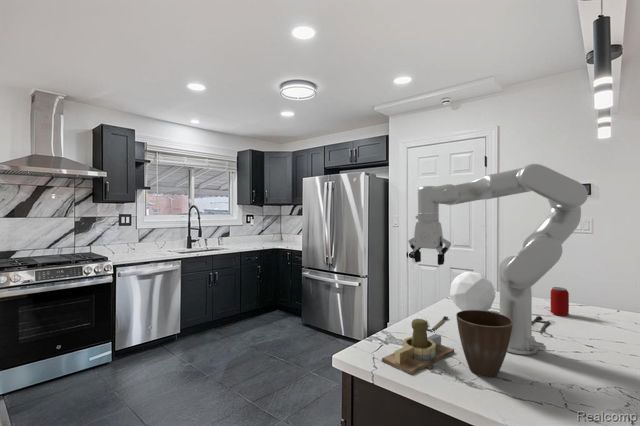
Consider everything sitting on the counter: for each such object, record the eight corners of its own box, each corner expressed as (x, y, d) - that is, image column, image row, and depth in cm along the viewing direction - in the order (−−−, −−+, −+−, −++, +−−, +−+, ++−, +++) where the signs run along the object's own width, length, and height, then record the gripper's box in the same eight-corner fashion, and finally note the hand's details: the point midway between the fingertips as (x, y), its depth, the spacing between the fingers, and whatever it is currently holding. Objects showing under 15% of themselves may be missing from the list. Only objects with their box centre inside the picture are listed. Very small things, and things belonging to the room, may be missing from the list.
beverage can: (568, 313, 152) (567, 287, 152) (569, 317, 146) (569, 290, 146) (550, 311, 155) (550, 286, 155) (551, 315, 149) (550, 288, 149)
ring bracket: (425, 340, 118) (425, 330, 118) (451, 349, 110) (451, 338, 110) (384, 358, 104) (384, 347, 104) (411, 369, 96) (411, 357, 96)
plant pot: (525, 380, 92) (525, 323, 92) (482, 388, 87) (482, 328, 87) (485, 357, 106) (484, 308, 106) (445, 363, 102) (445, 312, 102)
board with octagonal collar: (425, 342, 119) (425, 339, 119) (454, 352, 110) (454, 349, 110) (381, 361, 104) (381, 358, 104) (411, 374, 95) (411, 371, 95)
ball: (462, 328, 152) (435, 293, 155) (474, 304, 166) (449, 272, 169) (499, 317, 139) (469, 278, 141) (508, 292, 153) (480, 257, 156)
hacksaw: (537, 318, 146) (536, 315, 146) (565, 324, 139) (565, 320, 139) (520, 331, 130) (520, 328, 130) (551, 339, 122) (551, 335, 122)
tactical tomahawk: (442, 337, 126) (442, 334, 126) (425, 332, 130) (425, 329, 130) (458, 322, 142) (459, 319, 142) (443, 317, 147) (443, 315, 147)
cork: (406, 351, 108) (406, 318, 108) (420, 348, 111) (419, 315, 111) (419, 359, 103) (419, 323, 103) (433, 355, 106) (433, 321, 106)
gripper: (403, 218, 129) (404, 261, 129) (444, 218, 116) (445, 266, 116) (414, 218, 134) (414, 260, 134) (455, 218, 121) (455, 264, 121)
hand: (429, 263), depth 125 cm, fingers open, 9 cm apart
